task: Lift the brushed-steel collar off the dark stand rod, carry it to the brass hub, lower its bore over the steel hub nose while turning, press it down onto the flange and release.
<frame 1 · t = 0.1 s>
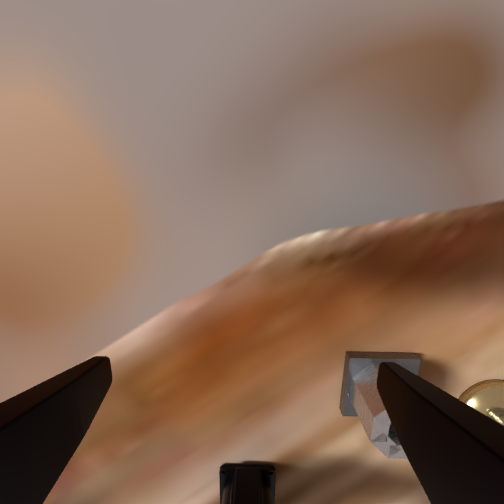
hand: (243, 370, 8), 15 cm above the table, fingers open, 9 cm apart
stand: (375, 381, 25), on the table
collar: (380, 388, 24), point 1 cm above the table, touching stand
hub: (487, 407, 25), on the table
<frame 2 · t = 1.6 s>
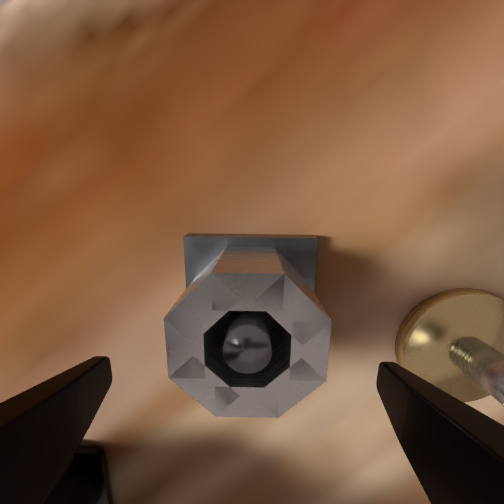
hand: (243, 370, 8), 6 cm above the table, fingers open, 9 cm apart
stand: (250, 292, 14), on the table
collar: (250, 300, 13), point 1 cm above the table, touching stand
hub: (452, 341, 14), on the table
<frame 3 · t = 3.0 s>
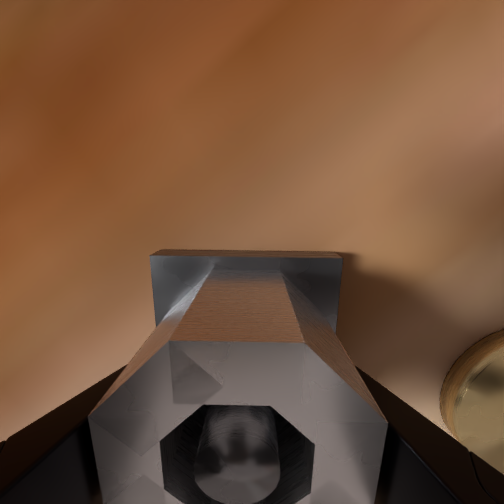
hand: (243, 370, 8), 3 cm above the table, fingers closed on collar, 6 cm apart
stand: (246, 329, 10), on the table
collar: (245, 342, 9), point 1 cm above the table, touching gripper, stand
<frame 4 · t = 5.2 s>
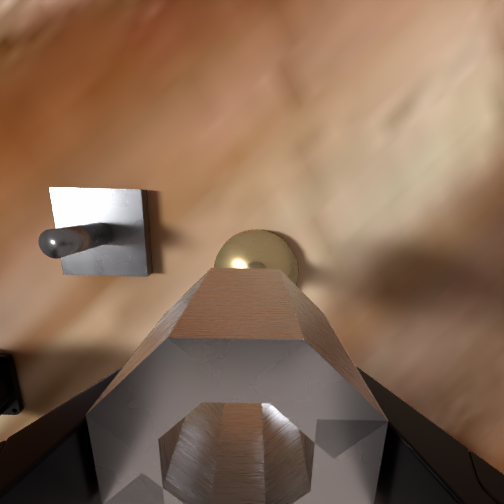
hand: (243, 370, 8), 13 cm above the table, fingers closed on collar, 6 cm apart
stand: (108, 232, 20), on the table
collar: (245, 341, 9), point 11 cm above the table, touching gripper
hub: (255, 269, 20), on the table
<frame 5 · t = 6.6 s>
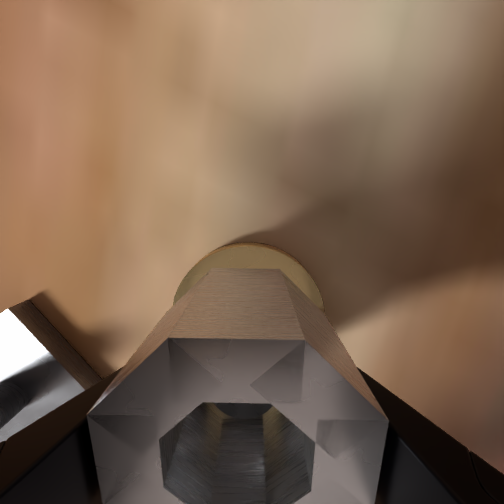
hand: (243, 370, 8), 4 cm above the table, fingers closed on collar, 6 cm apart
stand: (28, 381, 13), on the table
collar: (245, 341, 9), point 3 cm above the table, touching gripper
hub: (248, 310, 12), on the table
when the fingers open (4 cm above the table, at t = 7.7 s): collar drops 1 cm, resting on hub.
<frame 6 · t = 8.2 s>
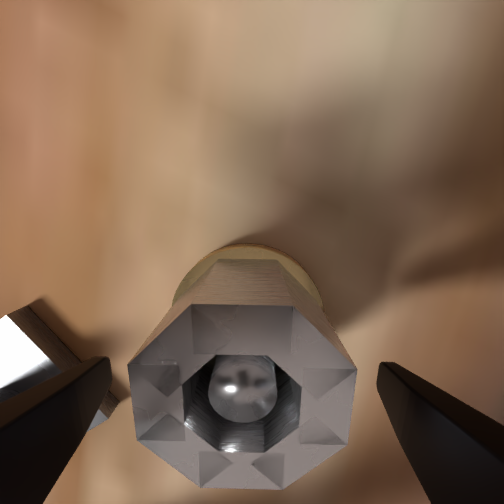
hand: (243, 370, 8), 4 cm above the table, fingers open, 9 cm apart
stand: (29, 387, 13), on the table
collar: (247, 322, 11), point 1 cm above the table, touching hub
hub: (247, 312, 12), on the table
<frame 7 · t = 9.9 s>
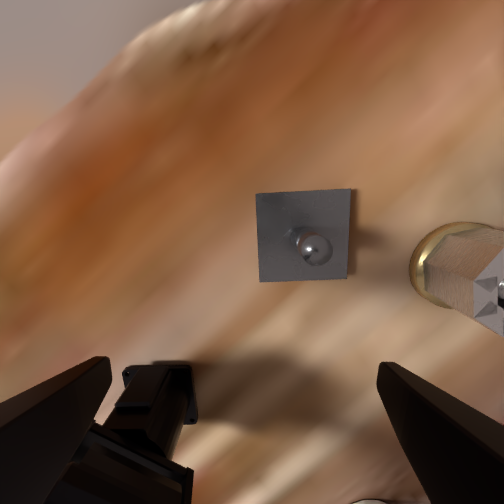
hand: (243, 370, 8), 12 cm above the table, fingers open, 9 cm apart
stand: (300, 235, 19), on the table
collar: (463, 268, 18), point 1 cm above the table, touching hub
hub: (452, 264, 19), on the table
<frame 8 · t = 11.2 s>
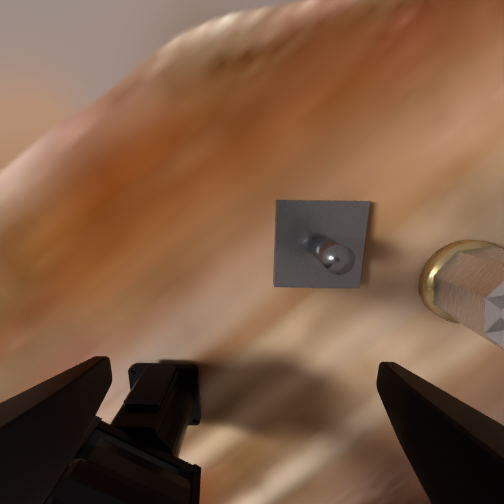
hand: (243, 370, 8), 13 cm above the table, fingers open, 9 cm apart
stand: (316, 243, 19), on the table
collar: (471, 284, 19), point 1 cm above the table, touching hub
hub: (460, 280, 20), on the table
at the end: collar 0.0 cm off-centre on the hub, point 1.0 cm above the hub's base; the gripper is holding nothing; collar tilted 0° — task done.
